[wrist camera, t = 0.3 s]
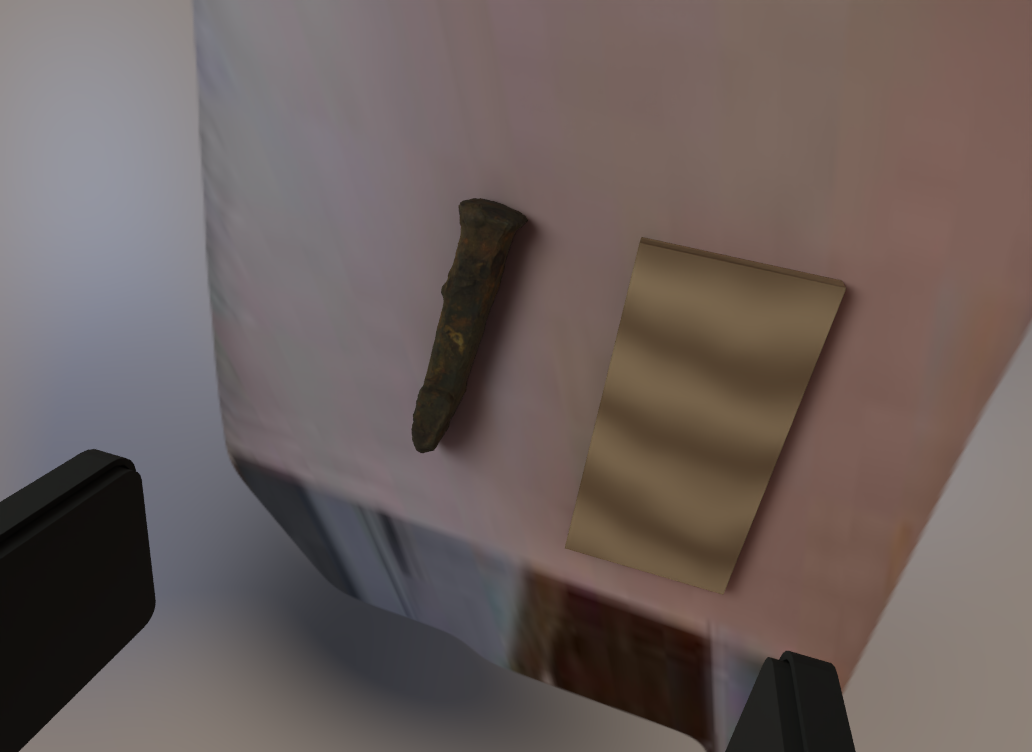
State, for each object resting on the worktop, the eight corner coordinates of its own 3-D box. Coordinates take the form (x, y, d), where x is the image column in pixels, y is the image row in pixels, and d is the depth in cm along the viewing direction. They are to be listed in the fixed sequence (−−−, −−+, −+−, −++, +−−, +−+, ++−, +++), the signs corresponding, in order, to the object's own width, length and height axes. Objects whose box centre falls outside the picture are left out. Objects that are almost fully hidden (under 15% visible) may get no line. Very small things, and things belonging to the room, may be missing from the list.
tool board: (641, 236, 42) (639, 242, 40) (841, 280, 40) (846, 288, 39) (568, 535, 53) (564, 548, 51) (722, 580, 51) (723, 594, 49)
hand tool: (476, 187, 43) (452, 201, 39) (533, 211, 43) (515, 227, 39) (404, 419, 52) (379, 450, 48) (451, 440, 52) (430, 473, 48)
